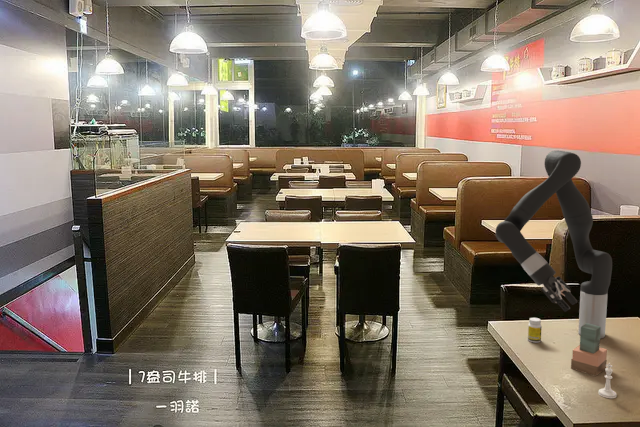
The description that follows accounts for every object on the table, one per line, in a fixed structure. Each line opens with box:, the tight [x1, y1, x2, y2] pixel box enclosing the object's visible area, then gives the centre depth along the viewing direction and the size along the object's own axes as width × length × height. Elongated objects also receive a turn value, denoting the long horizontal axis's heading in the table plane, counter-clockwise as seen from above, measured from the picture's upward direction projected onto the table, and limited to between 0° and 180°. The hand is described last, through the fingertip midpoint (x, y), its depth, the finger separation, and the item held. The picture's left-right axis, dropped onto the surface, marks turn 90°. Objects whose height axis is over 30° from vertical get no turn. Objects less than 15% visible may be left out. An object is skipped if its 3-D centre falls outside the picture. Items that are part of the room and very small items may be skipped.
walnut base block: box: [570, 358, 607, 377], centre depth 182 cm, size 8×8×4 cm
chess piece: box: [597, 362, 617, 399], centre depth 164 cm, size 5×5×10 cm
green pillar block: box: [579, 323, 601, 354], centre depth 180 cm, size 4×4×8 cm
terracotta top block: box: [571, 344, 608, 367], centre depth 181 cm, size 8×8×4 cm
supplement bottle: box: [527, 317, 543, 344], centre depth 205 cm, size 5×5×8 cm
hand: (571, 306), depth 183 cm, fingers open, 8 cm apart
